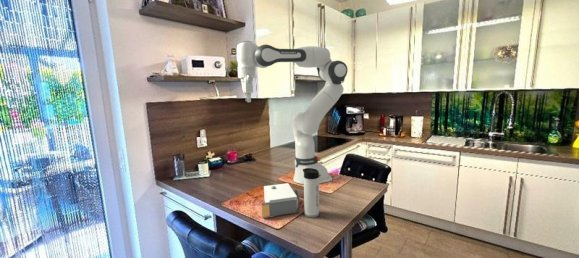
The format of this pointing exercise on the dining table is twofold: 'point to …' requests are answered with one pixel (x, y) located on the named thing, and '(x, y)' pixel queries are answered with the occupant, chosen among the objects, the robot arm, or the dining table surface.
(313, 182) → the travel mug
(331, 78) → the robot arm
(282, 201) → the side door
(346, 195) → the dining table surface
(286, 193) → the white box with hole
